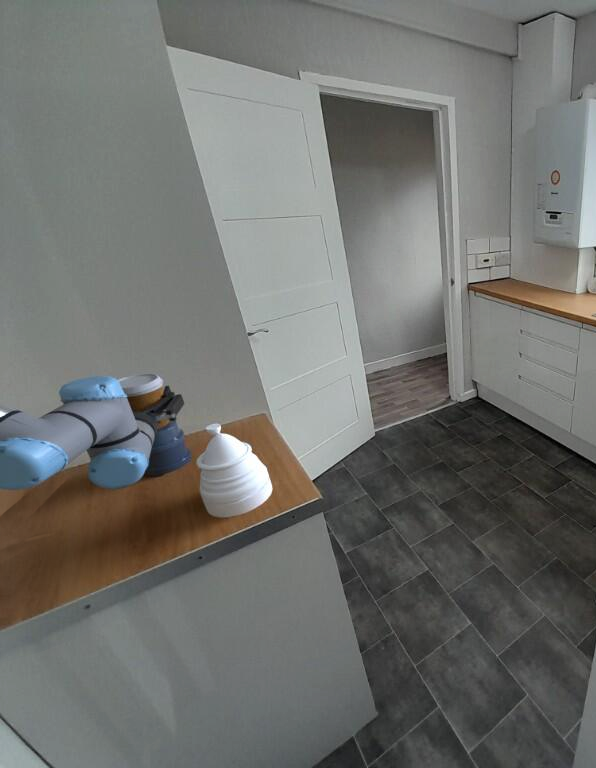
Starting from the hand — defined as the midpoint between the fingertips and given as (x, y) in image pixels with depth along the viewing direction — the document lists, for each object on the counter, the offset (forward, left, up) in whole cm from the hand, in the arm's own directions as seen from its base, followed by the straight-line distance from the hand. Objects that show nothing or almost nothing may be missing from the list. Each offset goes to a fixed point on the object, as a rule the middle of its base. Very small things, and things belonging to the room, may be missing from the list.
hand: (146, 394), depth 100 cm
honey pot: (+22, -25, -18) cm, 38 cm away
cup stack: (+1, -5, -18) cm, 18 cm away
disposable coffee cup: (+1, -5, -7) cm, 8 cm away
